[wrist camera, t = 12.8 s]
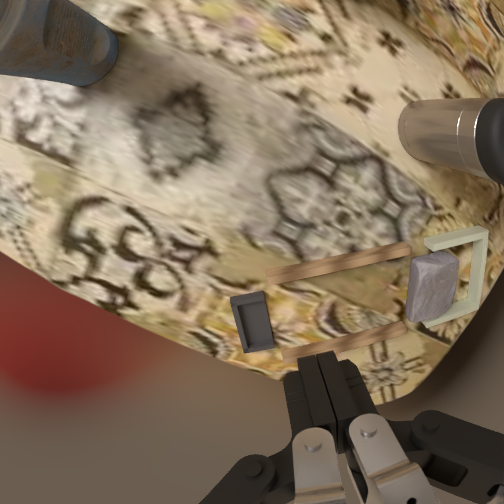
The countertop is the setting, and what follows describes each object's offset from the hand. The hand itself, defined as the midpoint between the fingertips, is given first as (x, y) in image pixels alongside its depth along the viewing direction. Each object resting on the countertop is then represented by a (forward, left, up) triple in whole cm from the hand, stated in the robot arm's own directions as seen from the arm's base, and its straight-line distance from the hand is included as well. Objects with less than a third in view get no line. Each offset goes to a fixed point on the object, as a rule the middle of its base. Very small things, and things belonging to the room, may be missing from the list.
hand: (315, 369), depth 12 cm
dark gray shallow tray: (+4, +19, -33) cm, 38 cm away
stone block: (-27, +20, -34) cm, 47 cm away
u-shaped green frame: (-31, +19, -33) cm, 49 cm away
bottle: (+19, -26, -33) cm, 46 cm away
